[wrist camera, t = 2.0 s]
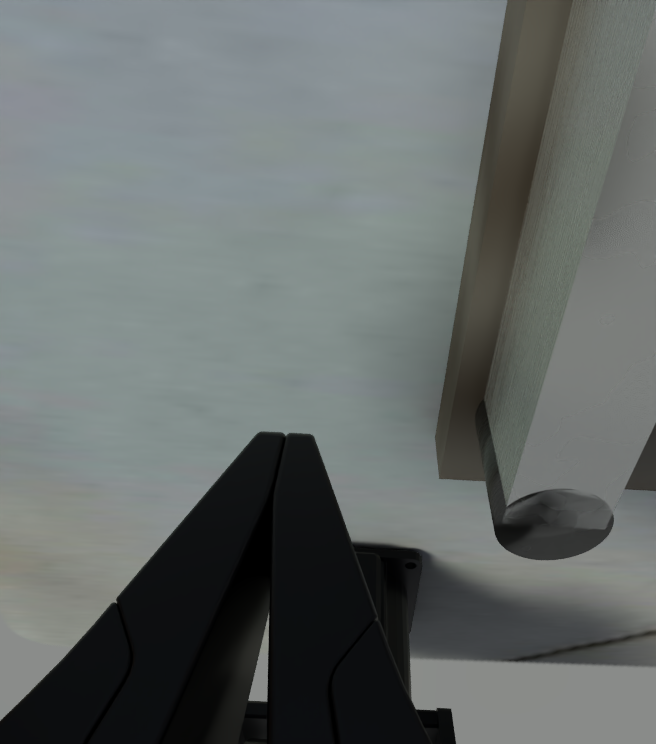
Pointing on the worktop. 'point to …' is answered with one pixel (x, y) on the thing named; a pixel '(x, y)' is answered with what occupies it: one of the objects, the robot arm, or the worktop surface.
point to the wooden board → (504, 230)
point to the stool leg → (580, 298)
